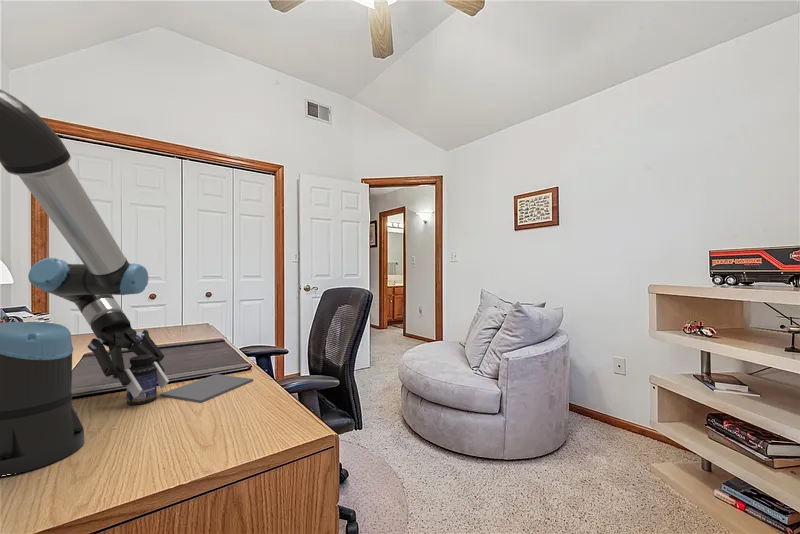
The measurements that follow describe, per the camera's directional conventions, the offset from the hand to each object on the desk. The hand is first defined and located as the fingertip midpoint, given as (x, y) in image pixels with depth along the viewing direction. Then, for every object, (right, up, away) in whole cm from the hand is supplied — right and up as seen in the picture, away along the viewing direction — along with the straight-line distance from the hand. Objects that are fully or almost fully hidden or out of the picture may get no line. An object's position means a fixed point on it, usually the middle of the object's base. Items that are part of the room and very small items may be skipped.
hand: (152, 389), depth 89 cm
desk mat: (+8, -3, +11) cm, 14 cm away
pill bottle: (-3, -4, +1) cm, 5 cm away
